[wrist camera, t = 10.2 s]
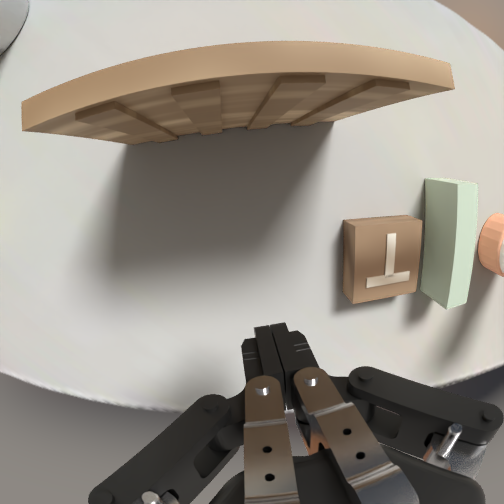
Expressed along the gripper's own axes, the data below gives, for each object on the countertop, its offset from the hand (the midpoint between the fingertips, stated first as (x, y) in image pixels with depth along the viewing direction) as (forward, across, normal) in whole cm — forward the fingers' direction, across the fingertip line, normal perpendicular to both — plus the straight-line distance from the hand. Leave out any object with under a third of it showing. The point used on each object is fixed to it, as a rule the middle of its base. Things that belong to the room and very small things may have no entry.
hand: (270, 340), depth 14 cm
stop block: (+12, -20, 0) cm, 23 cm away
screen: (+13, 0, -12) cm, 17 cm away
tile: (+13, -12, +2) cm, 18 cm away
